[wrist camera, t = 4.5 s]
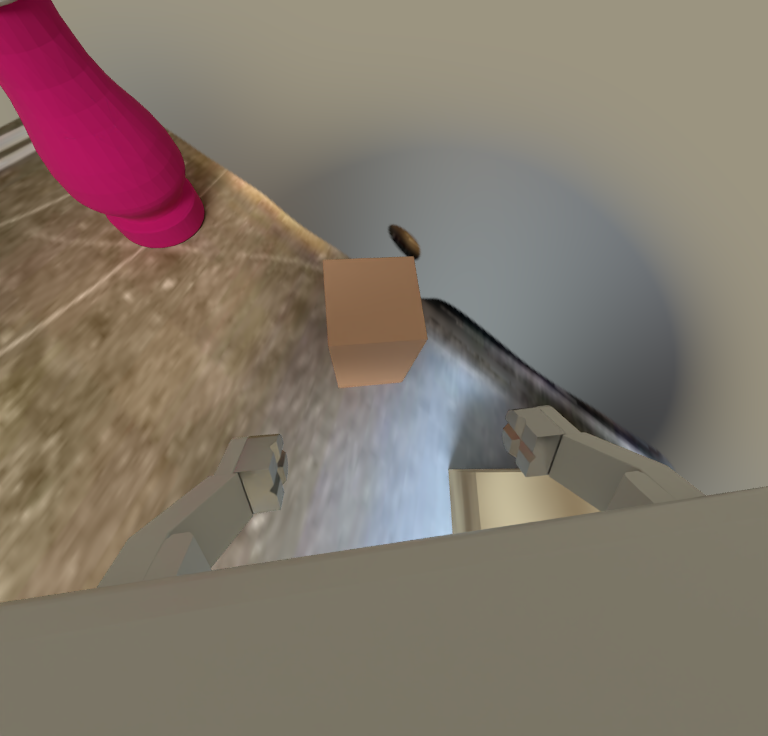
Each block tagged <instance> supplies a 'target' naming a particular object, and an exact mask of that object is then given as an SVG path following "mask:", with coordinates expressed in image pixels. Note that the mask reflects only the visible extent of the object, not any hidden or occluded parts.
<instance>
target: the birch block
mask: <svg viewBox="0 0 768 736" xmlns="http://www.w3.org/2000/svg"><path fill="white" fill-rule="evenodd" d="M448 471H449V486H450V501H451V516H452V531H453V534H456V533H463V532H469V531H476V530H483V529H489V528H496V527H502V526H509V525H515V524H522V523H529V522H535V521H542V520H548V519H555V518H561V517H568V516H575V515H581V514H588V513H595V512H601V511H599V510H598V509H597V508H595V507H594V506H592V505H591V504H589V503H588V502H586V501H585V500H583V499H582V498H580V497H579V496H577V495H576V494H574V493H573V492H571V491H570V490H568V489H567V488H565V487H564V486H563V485H561V484H560V483H558V482H557V481H555V480H554V479H552V478H551V477H549V475H543V476H533V477H525V476H524V474H523V473H522V471H521V470H520V469H448Z"/></svg>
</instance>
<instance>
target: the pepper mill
mask: <svg viewBox="0 0 768 736" xmlns="http://www.w3.org/2000/svg"><path fill="white" fill-rule="evenodd" d="M0 86H1V87H2V89H3V90H4V91H5V93H6V94H7V96H8V97H9V99H10V100H11V102H12V104H13V106H14V108H15V110H16V111H17V113H18V115H19V117H20V119H21V121H22V123H23V125H24V127H25V129H26V131H27V133H28V135H29V137H30V139H31V141H32V143H33V145H34V147H35V149H36V151H37V153H38V155H39V156H40V158H41V159H42V161H43V162H44V164H45V165H46V167H47V168H48V170H49V171H50V173H51V174H52V175H53V177H54V178H55V179H56V180H57V181H58V182H59V183H60V184H61V185H62V186H63V187H64V188H65V190H66V191H67V192H68V193H69V194H70V195H71V196H72V197H73V198H75V199H76V200H77V201H79V202H80V203H81V204H83V205H85V206H87V207H89V208H90V209H93V210H95V211H98V212H100V213H103V214H105V215H106V216H107V218H108V219H109V221H110V222H111V223H112V224H113V225H114V226H115V227H116V228H117V229H118V230H119V231H120V232H121V233H123V234H124V235H125V236H126V237H127V238H128V239H129V240H131V241H132V242H134V243H136V244H138V245H141V246H145V247H150V248H165V247H170V246H175V245H177V244H180V243H182V242H184V241H186V240H187V239H189V238H190V237H192V236H193V235H194V234H195V233H196V232H197V230H198V229H199V228H200V226H201V224H202V222H203V220H204V206H203V203H202V201H201V199H200V198H199V196H198V194H197V193H196V191H195V189H194V188H193V186H192V184H191V183H190V182H189V180H188V179H187V178H185V164H184V160H183V157H182V155H181V152H180V151H179V149H178V147H177V146H176V144H175V143H174V141H173V140H172V138H171V137H170V135H169V134H168V133H167V131H166V130H165V128H164V127H163V126H162V125H161V124H160V123H159V122H158V121H157V120H156V119H155V118H154V117H153V115H151V113H150V112H149V111H148V110H146V109H145V108H144V107H143V106H142V105H141V104H140V103H139V102H138V101H136V100H135V99H134V98H133V97H132V96H131V95H129V94H128V93H127V92H126V91H124V90H123V89H122V88H121V87H120V86H118V85H117V84H116V83H115V82H114V81H113V80H112V79H111V78H110V77H109V76H108V75H106V74H105V73H104V71H103V70H102V69H101V68H100V67H99V66H98V65H97V64H96V63H95V61H94V60H93V59H92V58H91V57H90V56H89V55H88V54H87V52H86V51H85V50H84V48H83V47H82V46H81V44H80V43H79V41H78V40H77V39H76V37H75V36H74V34H73V33H72V32H71V30H70V29H69V27H68V26H67V25H66V23H65V22H64V20H63V19H62V18H61V16H60V15H59V13H58V11H57V10H56V8H55V6H54V4H53V3H52V1H51V0H0Z"/></svg>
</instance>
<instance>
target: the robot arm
mask: <svg viewBox="0 0 768 736" xmlns="http://www.w3.org/2000/svg"><path fill="white" fill-rule="evenodd" d="M505 419H506V421H507V422H508V424H507V425H506V426H505V427H504V428H503V432H502V440H503V444H504V447H505V449H506V450H507V452H508V453H509V454H510V455H512V456H514V457H516V462H515V463H516V465H517V466H518V467H519V469H520V470H521V471H522V473H523V474H524V476H525V477H533V476H543V475H549V477H551V478H552V479H554V480H555V481H557V482H558V483H560V484H561V485H563V486H564V487H565V488H567V489H568V490H570V491H571V492H573V493H574V494H576V495H577V496H579V497H580V498H582V499H583V500H585V501H586V502H588V503H589V504H591V505H592V506H594V507H595V508H597V509H598V510H599V511H601V512H595V513H588V514H581V515H575V516H568V517H561V518H555V519H548V520H542V521H535V522H529V523H522V524H515V525H509V526H502V527H496V528H489V529H483V530H476V531H469V532H463V533H456V534H450V535H443V536H436V537H430V538H423V539H416V540H410V541H403V542H397V543H390V544H383V545H377V546H370V547H364V548H357V549H350V550H344V551H337V552H331V553H324V554H317V555H311V556H304V557H298V558H291V559H284V560H278V561H271V562H265V563H258V564H252V565H245V566H238V567H232V568H225V569H219V570H211V567H212V566H213V565H214V564H215V562H216V561H217V560H218V559H219V557H220V556H221V555H222V554H223V552H224V551H225V550H226V549H227V547H228V546H229V545H230V544H231V542H232V541H233V540H234V539H235V538H236V536H237V535H238V534H239V533H240V531H241V530H242V529H243V528H244V526H245V525H246V524H247V523H248V521H249V520H250V519H251V518H252V516H253V514H258V513H264V512H270V511H276V510H281V505H282V500H283V495H284V489H283V484H284V483H285V482H286V480H287V474H288V461H287V455H286V452H284V451H283V450H282V448H283V439H282V435H280V434H271V435H259V436H249V437H238V438H233V439H232V440H231V441H230V443H229V445H228V447H227V449H226V451H225V453H224V455H223V457H222V459H221V461H220V463H219V466H218V468H217V470H216V472H215V474H214V476H208V477H207V478H206V479H205V480H203V481H202V482H201V483H199V484H198V485H197V486H196V487H194V488H193V489H192V490H190V491H189V492H188V493H187V494H185V495H184V496H183V497H181V498H180V499H179V500H178V501H176V502H175V503H174V504H172V505H171V506H170V507H169V508H167V509H166V510H165V511H163V512H162V513H161V514H160V515H158V516H157V517H156V518H154V519H153V520H152V521H151V522H149V523H148V524H147V525H145V526H144V527H143V528H142V529H140V530H139V531H138V532H136V533H135V534H134V535H133V536H131V537H130V538H129V539H128V540H127V542H126V543H125V545H124V546H123V548H122V549H121V551H120V553H119V554H118V556H117V557H116V559H115V560H114V562H113V563H112V565H111V566H110V568H109V569H108V571H107V573H106V574H105V576H104V577H103V579H102V580H101V582H100V583H99V585H98V586H97V588H93V589H87V590H80V591H74V592H67V593H61V594H54V595H48V596H41V597H34V598H28V599H21V600H15V601H8V602H2V603H0V736H768V486H766V487H760V488H753V489H747V490H741V491H734V492H727V493H721V494H714V495H707V496H706V495H704V494H703V493H702V492H701V491H699V490H698V489H697V488H695V487H694V486H693V485H691V484H690V483H689V482H688V481H686V480H685V479H684V478H682V477H681V476H680V475H678V474H677V473H676V472H675V471H673V470H672V469H671V468H669V467H668V466H666V465H664V464H661V463H659V462H656V461H654V460H652V459H649V458H647V457H644V456H642V455H639V454H637V453H634V452H632V451H630V450H627V449H625V448H622V447H620V446H617V445H615V444H612V443H610V442H608V441H605V440H603V439H600V438H598V437H595V436H593V435H590V434H588V433H586V432H583V433H581V432H580V431H579V430H577V429H576V428H575V427H574V426H573V425H572V424H571V423H570V422H568V421H567V420H566V419H565V418H564V417H563V416H562V415H561V414H560V413H558V412H557V411H556V410H555V409H554V408H553V407H551V406H549V405H545V406H537V407H532V408H523V409H513V410H509V411H508V412H507V414H506V418H505Z"/></svg>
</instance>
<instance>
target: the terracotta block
mask: <svg viewBox="0 0 768 736" xmlns="http://www.w3.org/2000/svg"><path fill="white" fill-rule="evenodd" d="M323 272H324V287H325V302H326V318H327V333H328V347H329V351H330V355H331V359H332V363H333V367H334V371H335V375H336V379H337V383H338V387H339V388H345V387H356V386H367V385H377V384H388V383H399V382H402V381H403V379H404V378H405V376H406V374H407V373H408V371H409V369H410V368H411V366H412V364H413V363H414V361H415V359H416V358H417V356H418V354H419V353H420V351H421V349H422V348H423V346H424V344H425V343H426V341H427V339H428V338H427V332H426V326H425V320H424V315H423V309H422V303H421V297H420V291H419V285H418V280H417V274H416V268H415V262H414V256H411V257H386V258H359V259H334V260H323Z"/></svg>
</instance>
